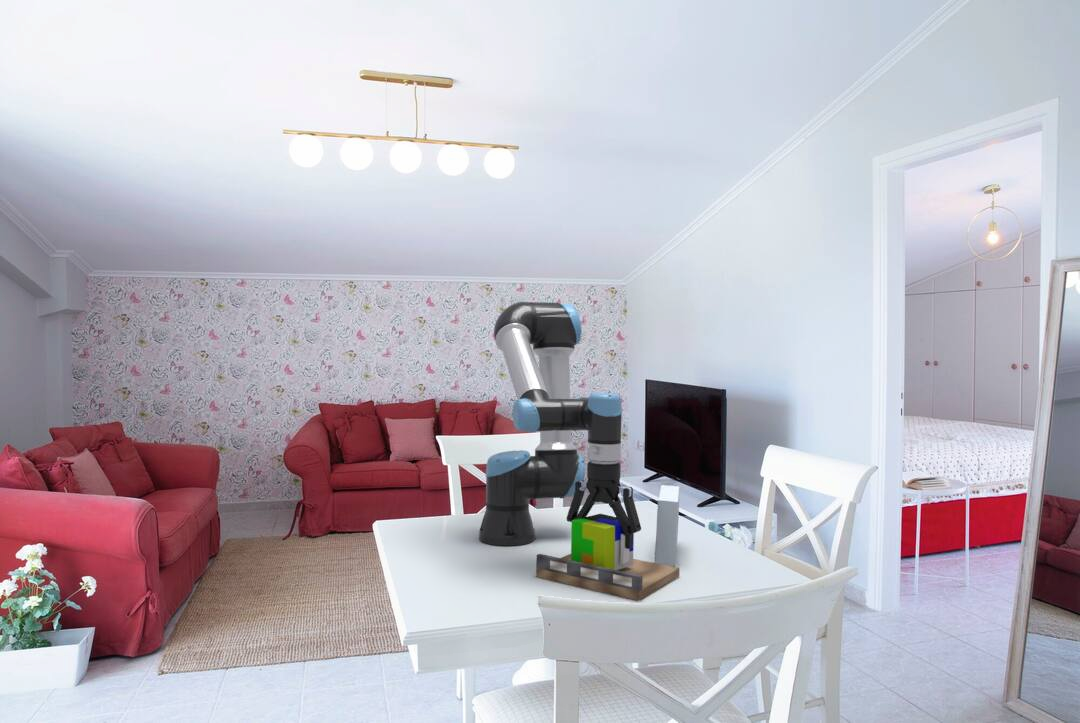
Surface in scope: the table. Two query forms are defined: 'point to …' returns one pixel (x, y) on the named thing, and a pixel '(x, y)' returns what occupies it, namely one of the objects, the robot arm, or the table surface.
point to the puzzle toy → (598, 542)
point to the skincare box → (667, 525)
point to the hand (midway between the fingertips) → (602, 557)
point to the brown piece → (607, 576)
